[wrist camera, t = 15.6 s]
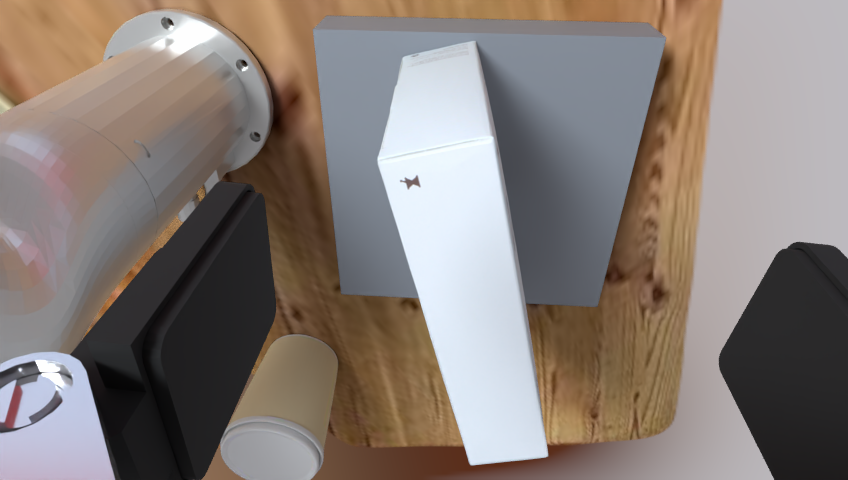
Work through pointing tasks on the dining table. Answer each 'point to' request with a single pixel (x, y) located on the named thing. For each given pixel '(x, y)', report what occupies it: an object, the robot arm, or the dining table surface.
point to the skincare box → (463, 250)
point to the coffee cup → (284, 413)
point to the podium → (516, 135)
